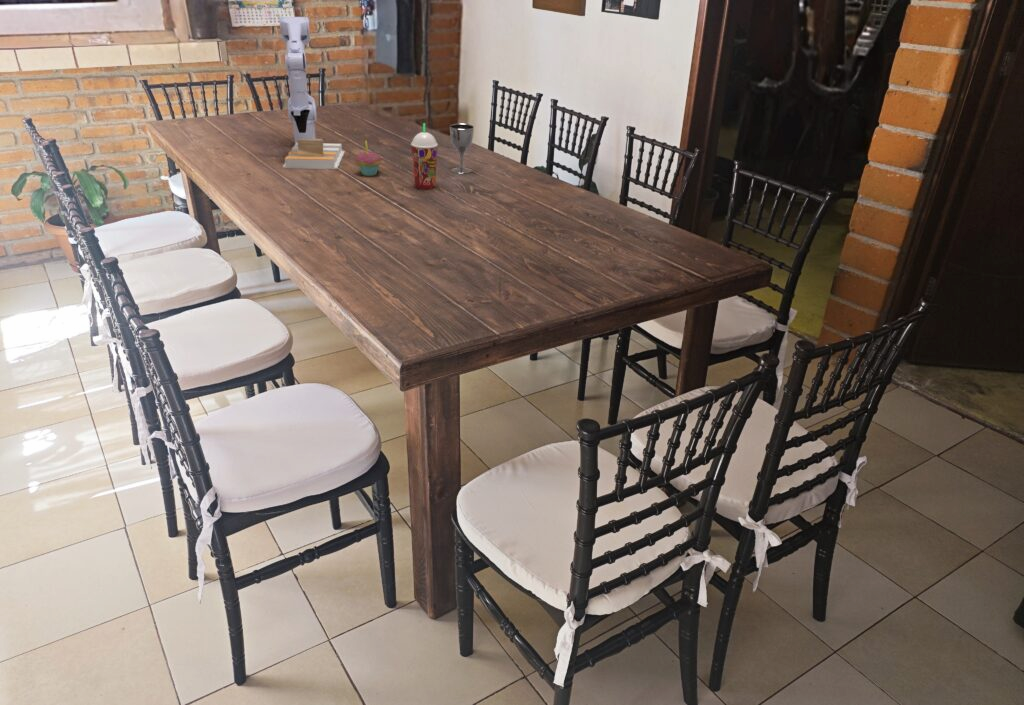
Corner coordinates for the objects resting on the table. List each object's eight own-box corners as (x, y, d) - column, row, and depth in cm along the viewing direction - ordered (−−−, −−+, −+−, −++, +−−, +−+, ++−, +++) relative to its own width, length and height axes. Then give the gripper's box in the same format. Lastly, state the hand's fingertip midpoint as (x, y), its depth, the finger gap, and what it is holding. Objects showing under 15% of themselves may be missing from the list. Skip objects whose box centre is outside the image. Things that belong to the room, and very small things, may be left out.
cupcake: (379, 178, 248) (377, 141, 242) (353, 176, 248) (351, 140, 242) (383, 170, 255) (382, 134, 249) (358, 169, 255) (356, 133, 249)
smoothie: (433, 191, 238) (433, 127, 228) (408, 189, 239) (406, 125, 229) (441, 184, 245) (440, 121, 235) (416, 181, 246) (415, 119, 236)
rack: (294, 151, 271) (293, 142, 270) (344, 152, 273) (344, 143, 271) (282, 168, 253) (281, 158, 251) (337, 169, 254) (336, 159, 252)
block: (300, 162, 258) (298, 138, 254) (324, 162, 258) (322, 139, 254) (299, 163, 256) (297, 140, 252) (323, 164, 256) (321, 140, 253)
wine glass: (474, 168, 262) (475, 124, 255) (471, 174, 256) (471, 129, 248) (452, 166, 263) (452, 122, 256) (448, 172, 256) (448, 128, 249)
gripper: (290, 86, 256) (294, 126, 262) (282, 95, 243) (286, 137, 250) (311, 86, 256) (314, 127, 263) (304, 95, 244) (308, 138, 251)
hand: (302, 132), depth 257 cm, fingers closed
